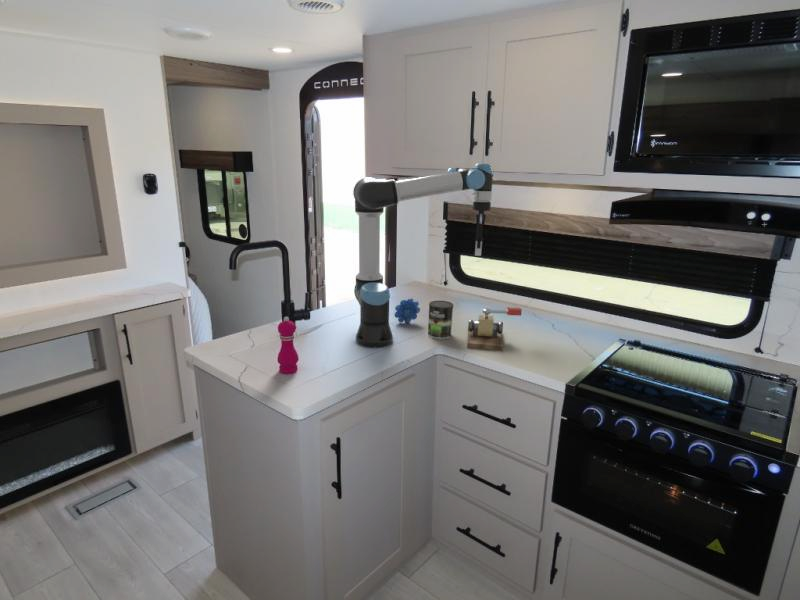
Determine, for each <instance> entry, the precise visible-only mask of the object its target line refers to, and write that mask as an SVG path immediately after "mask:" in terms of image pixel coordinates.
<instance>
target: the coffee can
mask: <svg viewBox="0 0 800 600" xmlns="http://www.w3.org/2000/svg"><path fill="white" fill-rule="evenodd" d="M453 310H454V304H453V302H451V301H447V300H432V301H429V304H428V324H427V325H428V326H427V336H428V337H429V338H432V339H436V340H447V339H450V338H451V337H452V325H453V312H454V311H453Z"/></svg>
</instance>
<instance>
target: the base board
mask: <svg viewBox="0 0 800 600" xmlns="http://www.w3.org/2000/svg"><path fill="white" fill-rule="evenodd" d="M466 339H467V340H466V341H467V342H466V344H467V345H466V348H467V349H479V350H490V351H491V350H492V351H503V347H504V344H503V339H502V334H498V333H497V338H492V337H491V336H477V337H473V331H472V332H469V331H468V330H467V338H466Z"/></svg>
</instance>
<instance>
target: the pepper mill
mask: <svg viewBox="0 0 800 600" xmlns="http://www.w3.org/2000/svg"><path fill="white" fill-rule="evenodd" d="M296 330H297V328H296V324H295V323H294V321H291V320H290V318H289V317H288V316H284V317H283V321H281V322H279V324H278V326H277V331H278V333H279V340H280V343H281V344H280V345H281V346H280V350H279V352H278V354H277V359H276V360H277V364H279V368H278V370H279V372H280V373H281V374H283V375H290V374H294V373H296V372H298V370H299V369H298V364H297V363H298V362H299V360H300V359H299V358H300V357H299V355H298V352H297V349H296V348H295V346H294V339H295V332H296Z"/></svg>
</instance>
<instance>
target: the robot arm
mask: <svg viewBox="0 0 800 600" xmlns="http://www.w3.org/2000/svg"><path fill="white" fill-rule="evenodd" d="M489 164H490V163H482V164H478V163H476V164H475V166H476V167H475V166H474V167H472V168H471V167H470V168H469V167H450V168H448V170H447V172H445V173H440V174H433V175H428V176H423V177H417V178H410V179H409V178H408V179H404V180H395V179H382V180H381V179H376V178H375V177H370V176H369V177H368V176H367V177H364V178H361V179H360V180H358V181H357V182H356V183H355V185H354V187H353V191H352V192H353V193H352V195H353V197H354V198H353V199H354V212H355V213H356V215H358V252H359V253H358V261H359V262H358V265H359V266H358V267H359V268H358V273H357V274H356V275H355V285H354V290H353V293H354V297H355V299H356V300H357V302H358V304H359V306H360V308H359V309H360V314H359V315H360V317H359V320H360V321H359V326H358V330H357V332H356V335H355V342H356V343H357V344H358V345H359V346H362V347H365V348H372V349H373V348H384V347H389V346H390V345H392V344H393V341H394V340H393V339H394V336H393V333H392V332H393V331H392V329H391V327H390V298H391V293H390V289H389V287H388V285H386V284H384V275H382V274H381V272H380V263H381V262H380V259H381V258H380V256H381V255H380V252H381V251H380V250H381V249H380V248H381V247H380V246H381V245H380V244H381V243H380V241H381V240H380V239H381V237H380V232H381V230H380V229H381V225H380V224H381V223H380V221H381V220H380V219H381V216H382V214H383V213H384V211H385V210H384V209H385V208H386V207H387V208H388V207H391V206H398V204H399V203H400V202H403V201H410V200H417V199H422V198H427V197H431V196H438V195H443V194H448V193H449V194H450V193H454V192H461V191H466V190H467V191H468V190H472V191H473V192H472V193H471V195H472V196H473V197H472V198H473V201H472V210H473V211H477V212H478V213H477V214H476V215H475V219H476V222H475V223H476V224H475V225H476V235H475V236H476V237H475V238H474V242H475V247H474V248H475V249H474V256H475V257H476V256H477V257H481V256H482V248H483V241H484V238H483V234H484V226H485V223H486V217H487V216H486V214H485V212H489V211H491V205H492V204H491V201H492V194H493V178H494V173H493V174H492V171H491V168H490V167H491V166H490V165H489ZM492 177H493V178H492Z"/></svg>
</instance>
